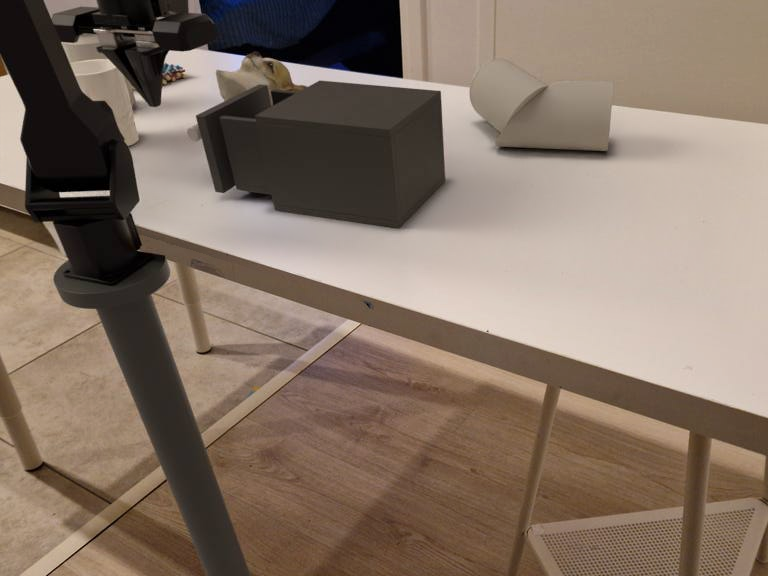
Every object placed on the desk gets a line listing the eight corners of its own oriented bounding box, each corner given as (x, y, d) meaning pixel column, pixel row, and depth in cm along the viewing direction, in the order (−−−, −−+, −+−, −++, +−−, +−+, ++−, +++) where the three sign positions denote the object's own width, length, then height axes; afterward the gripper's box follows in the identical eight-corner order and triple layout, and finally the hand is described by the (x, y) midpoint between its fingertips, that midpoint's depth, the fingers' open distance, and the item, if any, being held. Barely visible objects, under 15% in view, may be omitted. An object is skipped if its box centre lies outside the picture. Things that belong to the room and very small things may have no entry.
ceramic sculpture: (192, 52, 103) (277, 39, 112) (204, 114, 108) (284, 96, 118) (236, 64, 98) (321, 49, 107) (246, 129, 103) (327, 109, 112)
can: (147, 106, 112) (122, 23, 105) (107, 120, 107) (77, 33, 100) (116, 100, 116) (90, 18, 108) (76, 113, 110) (45, 28, 103)
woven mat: (190, 77, 125) (187, 65, 124) (139, 93, 118) (135, 80, 117) (151, 69, 130) (148, 57, 129) (100, 84, 123) (96, 72, 122)
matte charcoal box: (274, 210, 81) (254, 115, 74) (332, 167, 91) (319, 80, 84) (399, 228, 77) (389, 129, 70) (445, 181, 87) (441, 90, 80)
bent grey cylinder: (450, 149, 91) (607, 156, 89) (450, 59, 87) (615, 63, 84) (474, 134, 107) (607, 140, 104) (475, 57, 102) (615, 61, 100)
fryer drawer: (184, 187, 84) (163, 112, 79) (245, 151, 93) (229, 81, 88) (324, 207, 79) (311, 128, 74) (373, 167, 88) (365, 93, 83)
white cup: (132, 129, 104) (109, 55, 98) (151, 143, 99) (128, 67, 93) (76, 141, 100) (48, 66, 94) (93, 157, 95) (65, 78, 89)
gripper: (229, -51, 80) (258, 93, 90) (97, -55, 85) (138, 82, 95) (164, -37, 72) (204, 121, 81) (22, -42, 77) (75, 107, 86)
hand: (155, 106), depth 86 cm, fingers closed
